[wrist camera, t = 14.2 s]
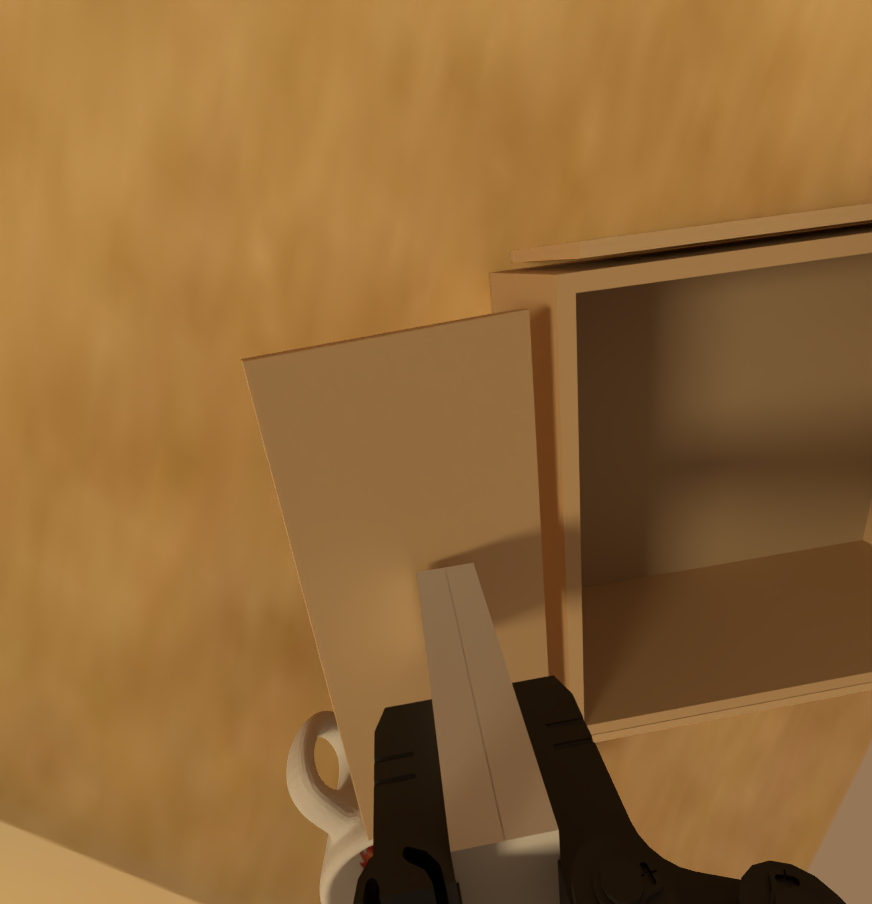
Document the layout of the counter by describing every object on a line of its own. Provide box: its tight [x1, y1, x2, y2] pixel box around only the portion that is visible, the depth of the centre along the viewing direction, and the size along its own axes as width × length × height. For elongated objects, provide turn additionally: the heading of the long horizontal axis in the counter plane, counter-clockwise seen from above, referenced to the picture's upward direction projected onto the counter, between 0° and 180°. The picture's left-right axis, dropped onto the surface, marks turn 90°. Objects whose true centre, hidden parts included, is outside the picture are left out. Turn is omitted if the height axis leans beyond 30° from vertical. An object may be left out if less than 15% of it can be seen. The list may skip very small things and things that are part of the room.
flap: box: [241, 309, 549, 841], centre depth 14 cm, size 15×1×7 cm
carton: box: [489, 203, 872, 743], centre depth 19 cm, size 17×19×8 cm
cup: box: [287, 711, 373, 904], centre depth 23 cm, size 11×8×8 cm
